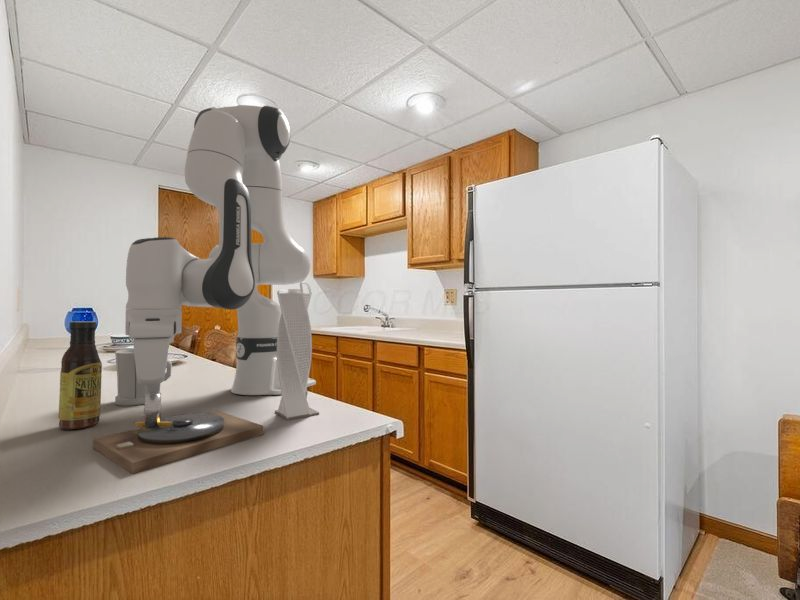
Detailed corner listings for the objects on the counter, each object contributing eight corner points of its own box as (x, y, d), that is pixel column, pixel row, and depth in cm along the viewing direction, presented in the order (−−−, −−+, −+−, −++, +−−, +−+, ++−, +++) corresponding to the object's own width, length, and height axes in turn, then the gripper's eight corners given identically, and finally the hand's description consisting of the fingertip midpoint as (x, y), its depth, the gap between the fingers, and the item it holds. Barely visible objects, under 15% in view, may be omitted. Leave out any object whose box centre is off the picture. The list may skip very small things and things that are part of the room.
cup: (152, 393, 104) (152, 346, 104) (174, 398, 99) (174, 348, 99) (106, 403, 94) (106, 351, 94) (129, 408, 90) (129, 354, 90)
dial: (234, 418, 77) (235, 385, 77) (205, 443, 64) (205, 403, 64) (156, 419, 76) (156, 386, 76) (110, 444, 63) (110, 404, 63)
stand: (216, 418, 83) (217, 409, 83) (263, 434, 73) (263, 424, 73) (92, 447, 66) (92, 436, 66) (132, 473, 57) (132, 460, 57)
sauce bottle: (77, 432, 74) (77, 322, 74) (49, 430, 75) (49, 322, 75) (109, 421, 80) (110, 320, 80) (83, 419, 82) (84, 320, 81)
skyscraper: (322, 416, 85) (322, 281, 85) (284, 422, 80) (285, 280, 80) (305, 407, 92) (305, 282, 92) (269, 413, 87) (270, 281, 87)
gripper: (138, 322, 82) (138, 391, 82) (127, 328, 64) (127, 416, 64) (174, 322, 85) (174, 388, 85) (173, 327, 67) (172, 411, 67)
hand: (153, 400), depth 75 cm, fingers closed
